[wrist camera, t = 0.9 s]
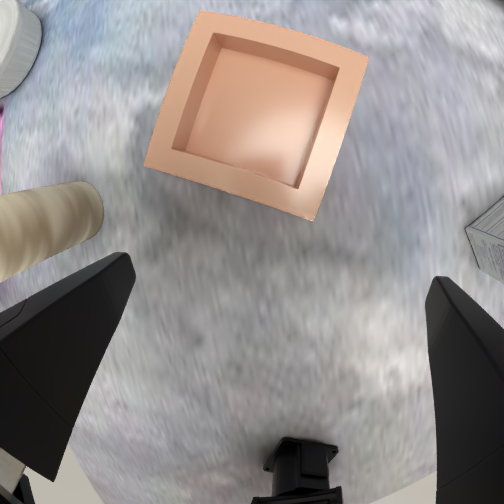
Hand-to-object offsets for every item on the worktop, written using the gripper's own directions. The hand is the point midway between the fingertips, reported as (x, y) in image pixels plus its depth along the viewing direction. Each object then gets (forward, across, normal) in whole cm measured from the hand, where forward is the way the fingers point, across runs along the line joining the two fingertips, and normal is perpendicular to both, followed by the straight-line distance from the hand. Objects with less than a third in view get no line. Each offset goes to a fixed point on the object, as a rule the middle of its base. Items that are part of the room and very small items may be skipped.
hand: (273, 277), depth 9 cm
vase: (+11, +18, +4) cm, 21 cm away
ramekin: (+15, +28, -12) cm, 34 cm away
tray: (+15, +3, -2) cm, 15 cm away
